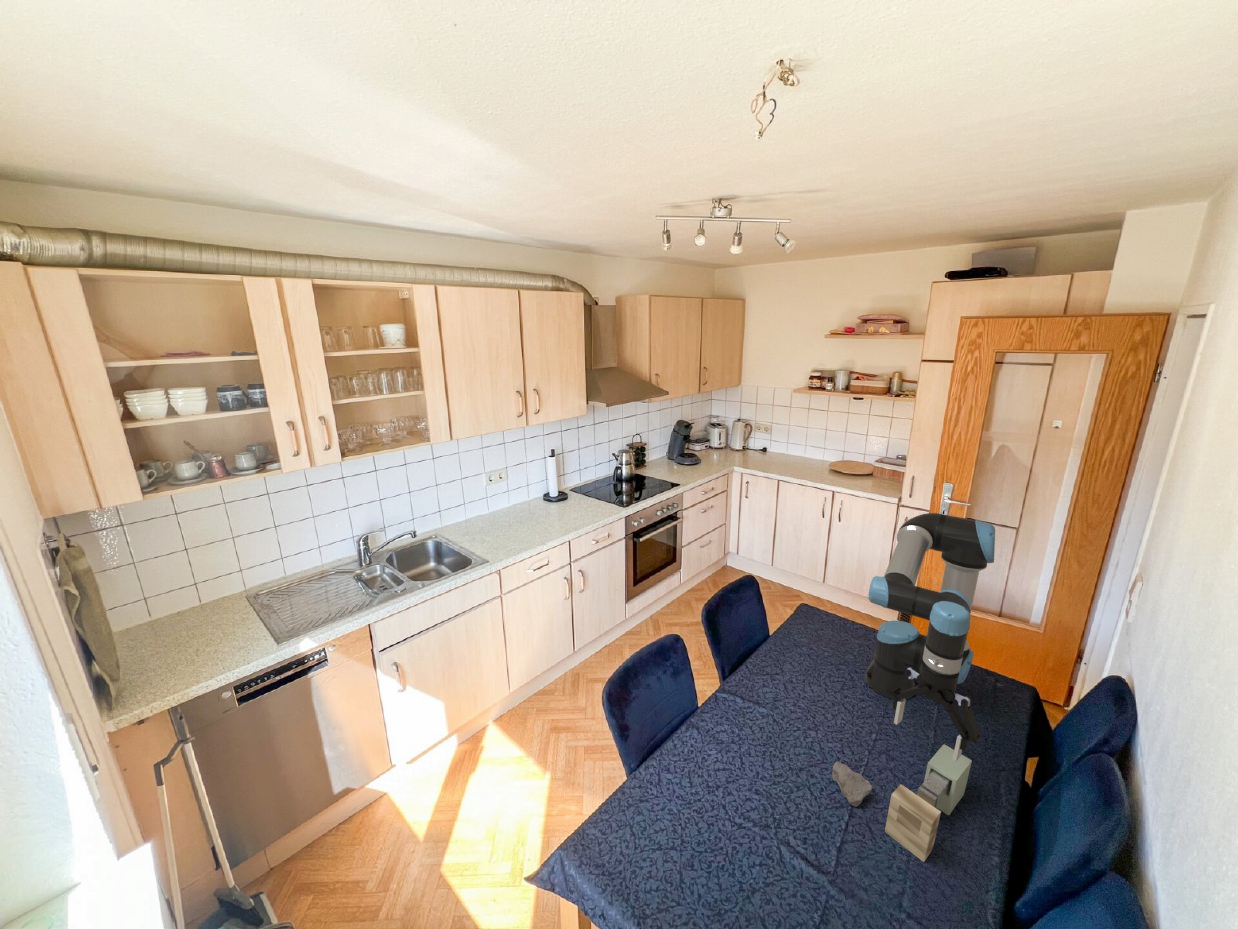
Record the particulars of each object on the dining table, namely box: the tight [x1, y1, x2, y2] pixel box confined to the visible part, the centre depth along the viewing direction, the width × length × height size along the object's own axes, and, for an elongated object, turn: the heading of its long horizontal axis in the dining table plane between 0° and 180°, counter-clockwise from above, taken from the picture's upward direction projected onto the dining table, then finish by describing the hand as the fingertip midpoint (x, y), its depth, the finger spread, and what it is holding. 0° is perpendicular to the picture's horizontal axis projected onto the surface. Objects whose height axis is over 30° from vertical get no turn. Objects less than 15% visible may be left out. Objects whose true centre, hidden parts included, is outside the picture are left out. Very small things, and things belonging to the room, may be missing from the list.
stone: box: [831, 760, 873, 808], centre depth 131 cm, size 8×10×6 cm
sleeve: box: [923, 744, 973, 816], centre depth 129 cm, size 10×7×11 cm, turn 127°
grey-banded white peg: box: [916, 770, 952, 809], centre depth 125 cm, size 18×4×4 cm, turn 127°
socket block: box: [884, 783, 942, 863], centre depth 117 cm, size 5×9×12 cm, turn 37°
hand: (925, 739), depth 121 cm, fingers open, 13 cm apart
